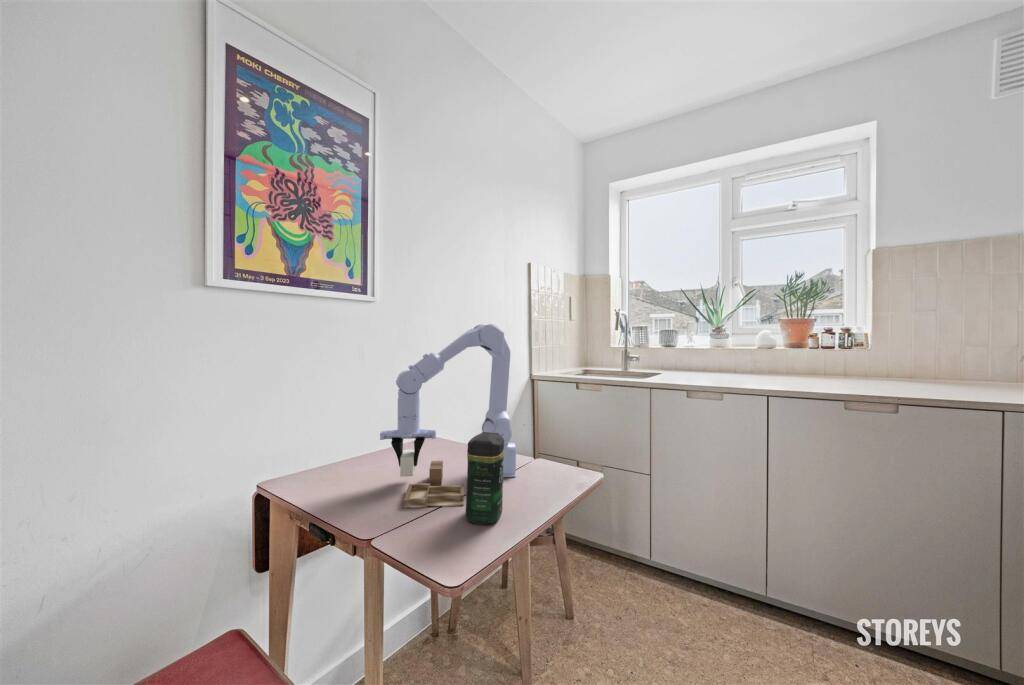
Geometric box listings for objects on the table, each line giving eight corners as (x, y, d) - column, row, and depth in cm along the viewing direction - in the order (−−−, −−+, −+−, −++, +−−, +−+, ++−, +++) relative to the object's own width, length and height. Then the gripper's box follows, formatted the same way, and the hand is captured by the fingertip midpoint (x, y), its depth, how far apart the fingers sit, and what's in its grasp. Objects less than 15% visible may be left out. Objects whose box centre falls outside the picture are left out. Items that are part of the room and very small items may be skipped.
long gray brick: (415, 467, 111) (416, 449, 111) (412, 476, 104) (412, 457, 104) (404, 467, 111) (404, 449, 110) (400, 476, 104) (400, 457, 104)
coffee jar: (497, 528, 85) (499, 441, 84) (461, 524, 86) (463, 439, 85) (505, 508, 94) (507, 430, 94) (473, 505, 95) (475, 428, 95)
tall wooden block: (441, 486, 107) (441, 468, 107) (429, 486, 106) (429, 468, 106) (442, 477, 113) (442, 460, 113) (431, 477, 113) (431, 461, 113)
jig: (463, 489, 105) (463, 482, 105) (463, 505, 95) (463, 498, 95) (409, 490, 103) (409, 483, 103) (403, 507, 93) (403, 500, 93)
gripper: (377, 418, 102) (377, 471, 102) (434, 418, 104) (434, 469, 104) (383, 413, 109) (382, 462, 109) (436, 412, 111) (436, 460, 111)
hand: (408, 465), depth 107 cm, fingers closed on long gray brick, 3 cm apart
